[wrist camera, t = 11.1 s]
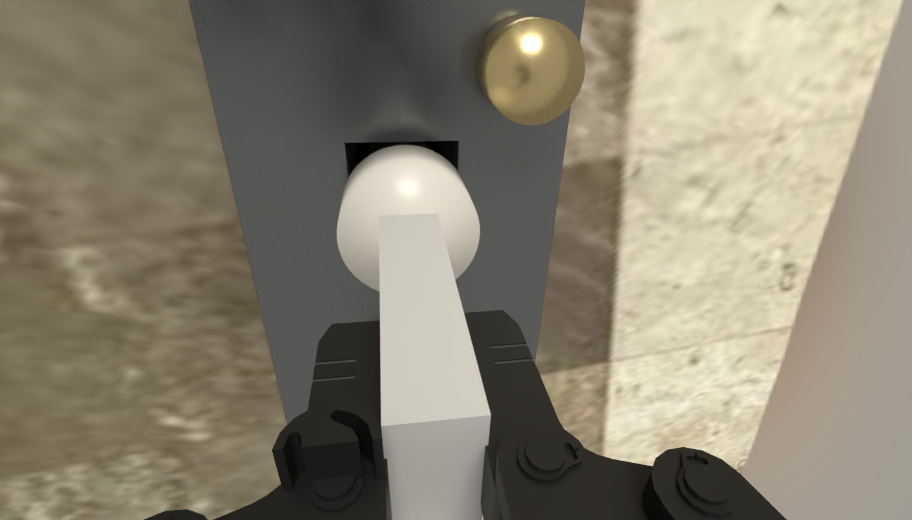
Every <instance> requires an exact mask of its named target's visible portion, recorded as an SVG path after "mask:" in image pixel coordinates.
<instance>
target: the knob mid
mask: <svg viewBox="0 0 912 520" xmlns="http://www.w3.org/2000/svg"><path fill="white" fill-rule="evenodd" d="M437 213H438V217H439V221H440V224H441V228H442V232H443V236H444V239H445V243H446V247H447V251H448V255H449V258H450V262H451V266H452V270H453V273H454V277H455V280H456V279H457V278H458V277H459V276H460V275H461V274H462V273H463V272H464V271H465V270H466V269H467V267H468V266H469V265H470V263H471V261H472V260H473V258H474V256H475V253H476V251H477V248H478V244H479V238H480V224H479V218H478V215H477V212H476V209H475V207H474V205H473V202H472V200H471V198H470V195H469V193H468V191H467V189H466V186H465V184H464V182H463V180H462V178H461V176H460V174H459V173H458V171H457V170H456V168H455V167H454V166H453V165H452V164H451V163H450V162H449V161H448V160H447V159H445V158H444V157H443V156H441V155H440V154H438V153H436V152H434V151H432V150H430V149H429V147H428V144H427V143H426V141H411V142H373V143H372V145H371V147H370V150H369V156H368V157H366V158H365V159H363V160H362V161H361V162H360V163H359V164H358V165H357V166H356V167H355V169H354V170H353V171H352V173H351V174H350V176H349V178H348V180H347V182H346V184H345V187H344V191H343V196H342V202H341V207H340V213H339V218H338V224H337V243H338V248H339V251H340V254H341V257H342V259H343V261H344V263H345V265H346V266H347V267H348V269H349V270H350V271H351V273H352V274H353V275H354V276H355V277H356V278H357V279H359V280H360V281H361V282H362V283H364V284H365V285H367V286H369V287H370V288H372V289H375V290H377V291H379V292H380V276H379V216H389V215H413V214H437Z"/></svg>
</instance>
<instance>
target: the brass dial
mask: <svg viewBox="0 0 912 520" xmlns="http://www.w3.org/2000/svg"><path fill="white" fill-rule="evenodd" d="M584 72H585V60H584V54H583V50H582V47H581V45H580V42H579V41H578V39H577V37H576V36H575V35H574V33H573V32H572V31H571V30H570V29H569V28H568V27H566V26H565V25H563V24H562V23H559V22H557V21H555V20H551V19H546V18H540V17H534V16H527V15H518V16H513V17H510V18H507V19H505V20H503V21H501V22H499V23H498V24H497V25H495V26H494V27H493V28H492V29H491V30H490V31H489V32H488V33H487V35H486V36H485V38H484V39H483V41H482V43H481V45H480V47H479V50H478V53H477V57H476V77H477V81H478V84H479V87H480V89H481V91H482V93H483V94H484V96H485V97H486V98H487V99H488V100H489V101H490V102H491V103H492V104H493V105H494V106H495V107H496V108H497V109H498V110H499V111H500V112H501V113H502V114H503V115H504V116H505V117H507V118H508V119H509V120H511V121H513V122H516V123H519V124H523V125H539V124H544V123H546V122H549V121H551V120H553V119H555V118H557V117H558V116H560V115H561V114H562V113H563V112H565V111H566V110H567V109H568V108H569V107H570V105H571V104H572V103H573V101H574V100H575V98H576V97H577V95H578V93H579V91H580V89H581V86H582V83H583V78H584Z"/></svg>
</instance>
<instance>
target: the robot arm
mask: <svg viewBox="0 0 912 520" xmlns="http://www.w3.org/2000/svg"><path fill="white" fill-rule="evenodd" d="M379 276H380V320H379V321H365V322H351V323H337V324H331V326H330V327H329V328H328V330H327V331H326V332H325V334H324V335H323V336H322V338H321V339H320V340H319V342H318V348H317V354H316V360H315V367H314V373H313V383H312V385H311V391H310V398H309V404H308V410H307V411H306V412H304V413H302V414H301V415H299V416H297V417H295V418H294V419H293V420H292V421H291V422H290V423H289V424H288V425H287V426H286V427H285V428H284V429H283V430H282V431H281V432H280V434H279V436H278V438H277V440H276V443H275V445H274V447H273V449H272V452H273V456H274V460H275V463H276V467H277V470H278V474H279V478H280V481H281V485H280V486H278V487H277V488H276V489H275V490H273V491H272V492H271V493H269V494H268V495H267V496H265V497H263V498H262V499H260V500H258V501H256V502H254V503H252V504H250V505H248V506H245V507H243V508H241V509H238V510H236V511H233V512H231V513H229V514H226V515H224V516H221V517H219V518H217V519H214V520H482V514H483V519H484V520H786V519H785V518H784V517H783V516H782V515H781V514H780V513H779V512H778V511H777V510H776V509H775V508H774V507H773V506H772V505H771V504H770V503H769V502H768V501H767V500H766V499H765V498H764V497H763V496H762V495H761V494H760V493H759V492H758V491H757V490H756V489H755V488H754V487H753V486H752V485H751V484H750V483H749V482H748V481H747V480H746V479H745V478H744V477H743V476H742V475H741V474H740V473H738V472H737V471H736V470H735V469H733V468H732V467H731V466H729V465H728V464H727V463H726V462H724V461H723V460H722V459H719V458H717V457H715V456H713V455H711V454H709V453H706V452H704V451H702V450H696V449H691V448H685V447H681V448H675V449H669V450H666V451H665V452H664V453H662V454H661V455H659V456H658V457H657V458H656V459H655V462H654V465H653V466H647V465H642V464H637V463H631V462H626V461H620V460H615V459H611V458H607V457H604V456H600V455H597V454H595V453H593V452H591V451H589V450H587V449H585V448H584V447H583V446H582V444H581V443H580V441H579V440H578V439H576V438H575V437H574V436H572V435H571V434H570V433H568V432H567V431H566V430H564V429H563V427H562V425H561V423H560V422H559V420H558V418H557V415H556V413H555V410H554V408H553V405H552V403H551V401H550V398H549V396H548V393H547V391H546V389H545V386H544V384H543V381H542V379H541V377H540V374H539V372H538V369H537V367H536V365H535V362H533V357H532V355H531V353H530V350H529V348H528V346H527V345H526V341H525V338H524V336H523V333H522V331H521V328H520V326H519V324H518V323H517V322H515V321H514V320H513V319H512V318H511V317H510V316H509V315H508V314H507V313H506V312H505V311H504V310H496V311H482V312H468V313H464V311H463V308H462V304H461V300H460V296H459V292H458V289H457V285H456V281H455V277H454V273H453V270H452V266H451V262H450V258H449V255H448V251H447V247H446V243H445V239H444V236H443V232H442V228H441V224H440V221H439V217H438V213H437V214H413V215H389V216H379ZM144 520H207V518H206V517H205V516H204V515H202V514H199V513H196V512H193V511H190V510H187V509H185V510H173V511H164V512H162V513H159V514H157V515H154V516H152V517H149V518H147V519H144Z"/></svg>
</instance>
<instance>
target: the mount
mask: <svg viewBox="0 0 912 520" xmlns="http://www.w3.org/2000/svg"><path fill="white" fill-rule="evenodd" d="M189 3H190V8H191V12H192V16H193V21H194V25H195V29H196V34H197V38H198V42H199V47H200V51H201V55H202V59H203V64H204V68H205V72H206V77H207V81H208V85H209V90H210V94H211V98H212V102H213V107H214V111H215V115H216V120H217V124H218V128H219V133H220V137H221V141H222V145H223V150H224V154H225V158H226V163H227V167H228V171H229V176H230V180H231V184H232V188H233V193H234V197H235V201H236V206H237V210H238V214H239V219H240V223H241V227H242V232H243V236H244V240H245V244H246V249H247V253H248V257H249V262H250V266H251V270H252V275H253V279H254V283H255V287H256V292H257V296H258V300H259V305H260V309H261V313H262V318H263V322H264V326H265V330H266V335H267V339H268V343H269V348H270V352H271V356H272V361H273V365H274V369H275V373H276V378H277V382H278V386H279V391H280V395H281V399H282V404H283V408H284V412H285V417H286V421H287V425H288V424H289V423H290V422H291V421H292V420H293V419H294V418H295V417H297V416H299V415H301V414H302V413H304V412H306V411H307V410H308V404H309V398H310V391H311V385H312V383H313V373H314V367H315V360H316V354H317V348H318V342H319V340H320V339H321V338H322V336H323V335H324V334H325V332H326V331H327V330H328V328H329V327H330V326H331V324H337V323H351V322H365V321H379V320H380V292H379V291H377V290H375V289H372V288H370V287H369V286H367V285H365V284H364V283H362V282H361V281H360V280H359V279H357V278H356V277H355V276H354V275H353V274H352V273H351V271H350V270H349V269H348V267H347V266H346V265H345V263H344V261H343V259H342V257H341V254H340V251H339V248H338V243H337V224H338V218H339V213H340V207H341V202H342V196H343V191H344V187H345V184H346V182H347V180H348V178H349V176H350V174H351V173H352V171H353V170H354V169H355V167H356V166H357V164H356V152H355V143H359V142H411V141H442V156H443V157H444V158H445V159H447V160H448V161H449V162H450V163H451V164H452V165H453V166H454V167H455V168H456V170H457V171H458V173H459V174H460V176H461V178H462V180H463V182H464V184H465V186H466V189H467V191H468V193H469V195H470V198H471V200H472V202H473V205H474V207H475V209H476V212H477V215H478V218H479V224H480V238H479V244H478V248H477V251H476V253H475V256H474V258H473V260H472V261H471V263H470V265H469V266H468V267H467V269H466V270H465V271H464V272H463V273H462V274H461V275H460V276H459V277H458V278H457V279H456V280H455V281H456V285H457V289H458V292H459V296H460V300H461V304H462V308H463V311H464V313H468V312H482V311H496V310H504V311H505V312H506V313H507V314H508V315H509V316H510V317H511V318H512V319H513V320H514V321H515V322H517V323H518V324H519V326H520V328H521V331H522V333H523V336H524V338H525V341H526V345H527V346H528V348H529V350H530V353H531V355H532V357H533V362H535V359H536V352H537V344H538V337H539V330H540V323H541V316H542V308H543V301H544V294H545V287H546V280H547V272H548V265H549V258H550V251H551V244H552V237H553V229H554V222H555V215H556V208H557V201H558V193H559V186H560V179H561V172H562V165H563V157H564V150H565V143H566V136H567V129H568V121H569V114H570V107H571V105H570V107H569V108H568V109H567V110H566V111H565V112H563V113H562V114H561V115H560V116H558V117H557V118H555V119H553V120H551V121H549V122H546V123H544V124H539V125H523V124H519V123H516V122H513V121H511V120H509V119H508V118H507V117H505V116H504V115H503V114H502V113H501V112H500V111H499V110H498V109H497V108H496V107H495V106H494V105H493V104H492V103H491V102H490V101H489V100H488V99H487V98H486V97H485V96H484V94H483V93H482V91H481V89H480V87H479V84H478V81H477V77H476V57H477V53H478V50H479V47H480V45H481V43H482V41H483V39H484V38H485V36H486V35H487V33H488V32H489V31H490V30H491V29H492V28H493V27H494V26H495V25H497V24H498V23H499V22H501V21H503V20H505V19H507V18H510V17H513V16H518V15H527V16H534V17H540V18H546V19H551V20H555V21H557V22H559V23H562V24H563V25H565V26H566V27H568V28H569V29H570V30H571V31H572V32H573V33H574V35H575V36H576V37H577V39H578V41H579V42H580V35H581V28H582V21H583V14H584V6H585V0H189Z"/></svg>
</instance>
